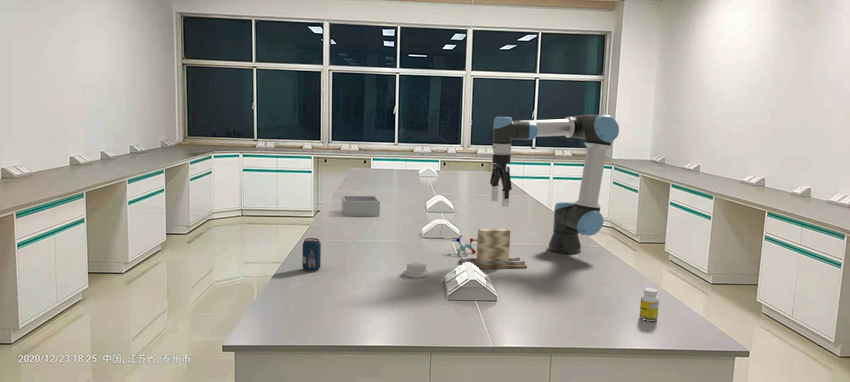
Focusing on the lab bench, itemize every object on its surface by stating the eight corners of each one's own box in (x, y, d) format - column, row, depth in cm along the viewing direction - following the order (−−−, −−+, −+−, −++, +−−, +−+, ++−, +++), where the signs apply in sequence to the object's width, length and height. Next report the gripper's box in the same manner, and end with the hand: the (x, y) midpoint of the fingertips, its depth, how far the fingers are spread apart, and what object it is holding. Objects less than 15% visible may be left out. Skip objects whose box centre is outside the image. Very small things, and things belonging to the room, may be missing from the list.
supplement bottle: (636, 316, 199) (639, 287, 198) (652, 316, 199) (655, 287, 198) (643, 322, 193) (646, 292, 192) (660, 322, 194) (663, 292, 193)
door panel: (505, 261, 261) (507, 229, 259) (508, 263, 258) (510, 230, 256) (476, 261, 259) (478, 229, 257) (478, 263, 255) (480, 230, 253)
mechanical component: (423, 279, 233) (432, 273, 242) (424, 268, 232) (432, 262, 241) (399, 276, 236) (408, 270, 245) (399, 265, 235) (409, 259, 245)
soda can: (313, 266, 245) (314, 237, 243) (323, 270, 240) (324, 240, 238) (298, 269, 240) (299, 239, 238) (308, 273, 235) (309, 242, 233)
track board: (516, 261, 267) (517, 256, 267) (526, 268, 255) (527, 263, 255) (458, 261, 262) (459, 256, 261) (466, 269, 250) (466, 263, 250)
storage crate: (375, 210, 384) (375, 196, 383) (379, 216, 364) (379, 201, 363) (341, 210, 380) (341, 195, 379) (343, 216, 360) (344, 201, 359)
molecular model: (476, 250, 269) (467, 229, 272) (456, 259, 271) (448, 238, 274) (483, 252, 280) (474, 232, 283) (464, 261, 282) (455, 240, 285)
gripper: (483, 151, 269) (482, 199, 272) (503, 156, 245) (501, 208, 248) (500, 151, 270) (498, 199, 273) (521, 156, 246) (518, 208, 249)
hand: (499, 203), depth 261 cm, fingers open, 13 cm apart
